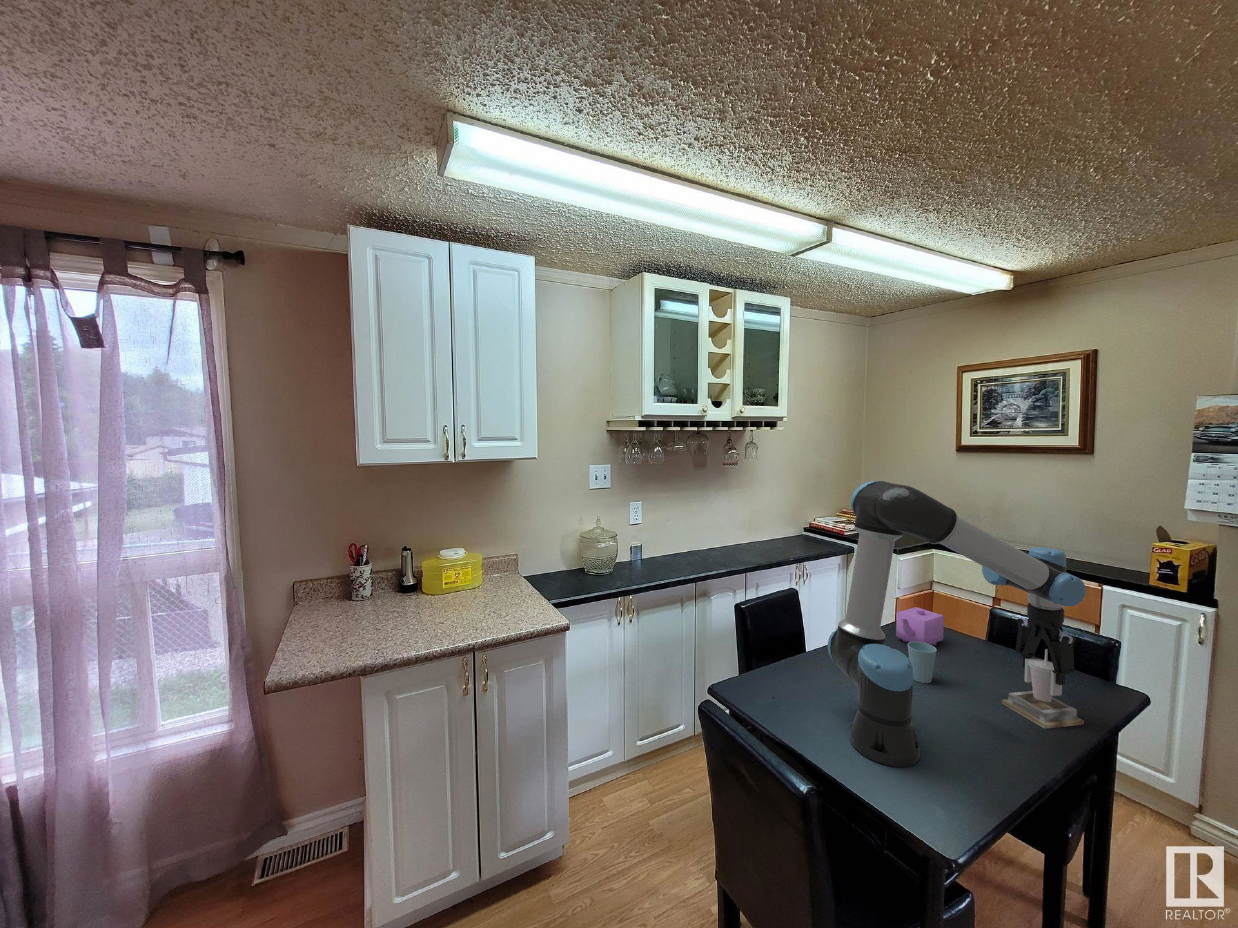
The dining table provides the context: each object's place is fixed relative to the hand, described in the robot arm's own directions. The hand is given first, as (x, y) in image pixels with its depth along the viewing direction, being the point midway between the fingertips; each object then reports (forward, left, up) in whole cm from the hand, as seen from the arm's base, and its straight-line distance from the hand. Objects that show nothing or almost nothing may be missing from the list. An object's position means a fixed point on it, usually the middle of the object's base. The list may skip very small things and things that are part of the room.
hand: (1042, 687), depth 131 cm
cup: (-18, +22, -7) cm, 29 cm away
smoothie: (0, 0, -3) cm, 3 cm away
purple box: (0, +46, -8) cm, 46 cm away
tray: (0, 0, -7) cm, 7 cm away
